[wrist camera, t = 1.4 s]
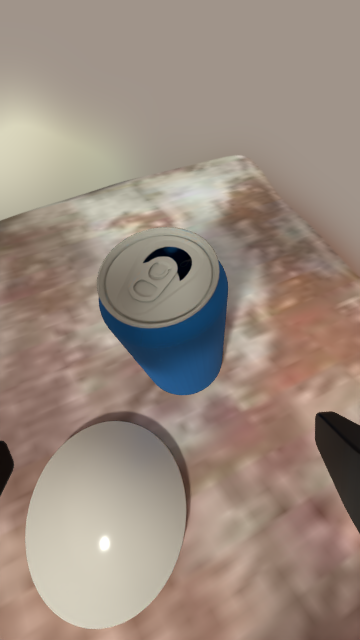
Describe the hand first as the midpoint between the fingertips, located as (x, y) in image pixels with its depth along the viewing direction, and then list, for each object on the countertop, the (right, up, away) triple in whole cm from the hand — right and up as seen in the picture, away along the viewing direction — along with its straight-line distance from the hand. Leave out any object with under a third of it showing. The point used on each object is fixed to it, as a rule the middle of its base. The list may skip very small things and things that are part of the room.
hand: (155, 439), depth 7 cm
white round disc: (-4, -10, +10) cm, 15 cm away
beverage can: (+1, 0, +15) cm, 15 cm away
